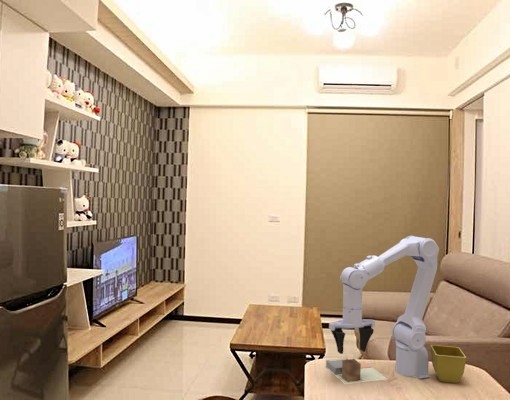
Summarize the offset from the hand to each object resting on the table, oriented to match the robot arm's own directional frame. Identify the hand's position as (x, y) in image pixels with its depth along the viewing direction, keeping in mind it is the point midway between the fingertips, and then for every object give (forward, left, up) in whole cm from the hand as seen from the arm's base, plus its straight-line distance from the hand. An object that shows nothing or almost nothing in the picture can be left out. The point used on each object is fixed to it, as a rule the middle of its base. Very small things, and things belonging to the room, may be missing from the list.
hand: (351, 351), depth 130 cm
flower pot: (-30, +6, -9) cm, 32 cm away
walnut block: (0, 0, -9) cm, 9 cm away
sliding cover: (0, -6, -8) cm, 10 cm away
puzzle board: (-3, -3, -9) cm, 10 cm away
